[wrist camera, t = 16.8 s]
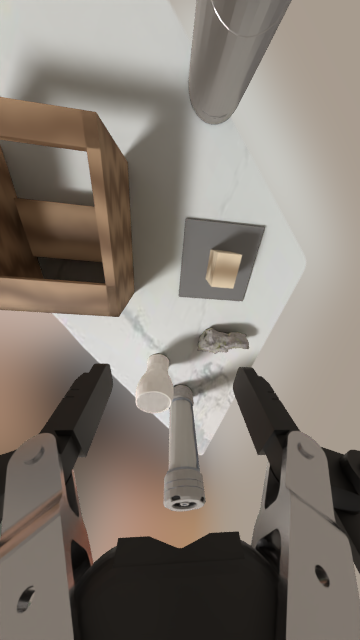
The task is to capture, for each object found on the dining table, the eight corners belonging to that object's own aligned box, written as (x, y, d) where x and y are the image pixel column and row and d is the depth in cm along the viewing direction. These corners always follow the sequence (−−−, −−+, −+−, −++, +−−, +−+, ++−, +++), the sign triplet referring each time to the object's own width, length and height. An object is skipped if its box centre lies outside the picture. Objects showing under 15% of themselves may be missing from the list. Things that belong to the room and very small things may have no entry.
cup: (162, 345, 51) (158, 384, 38) (179, 365, 56) (181, 405, 43) (136, 359, 54) (124, 399, 41) (155, 377, 58) (149, 418, 45)
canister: (196, 395, 64) (212, 506, 38) (174, 403, 66) (175, 513, 40) (185, 381, 60) (195, 495, 34) (162, 389, 62) (155, 504, 36)
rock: (246, 323, 49) (256, 335, 43) (243, 342, 52) (252, 355, 46) (196, 327, 48) (199, 340, 43) (197, 345, 52) (200, 359, 46)
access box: (-10, 143, 28) (-153, 72, 16) (127, 162, 30) (95, 112, 17) (39, 285, 40) (-19, 308, 28) (134, 292, 42) (118, 316, 30)
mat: (185, 218, 34) (185, 218, 34) (263, 227, 36) (264, 227, 35) (178, 295, 43) (178, 296, 43) (241, 300, 45) (242, 301, 44)
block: (210, 249, 37) (218, 252, 31) (230, 251, 38) (242, 254, 31) (205, 278, 40) (211, 286, 34) (224, 280, 41) (233, 288, 35)
